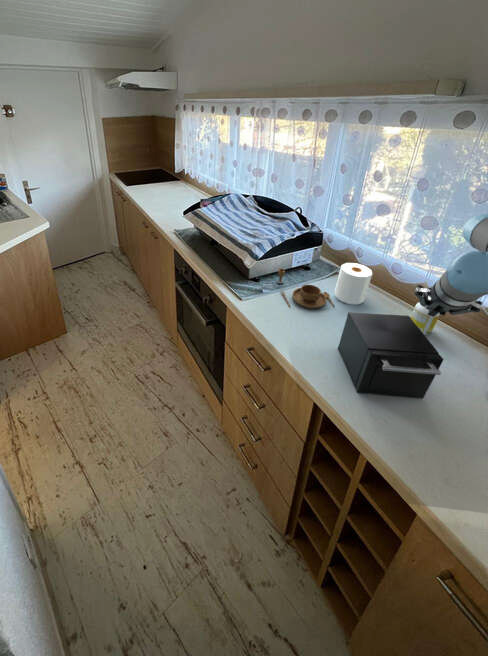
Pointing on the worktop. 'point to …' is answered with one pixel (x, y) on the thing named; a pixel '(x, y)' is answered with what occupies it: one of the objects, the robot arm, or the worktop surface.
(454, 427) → the worktop surface
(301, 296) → the place setting
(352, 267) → the toilet paper
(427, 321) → the pill bottle
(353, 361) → the oven
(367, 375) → the oven door
